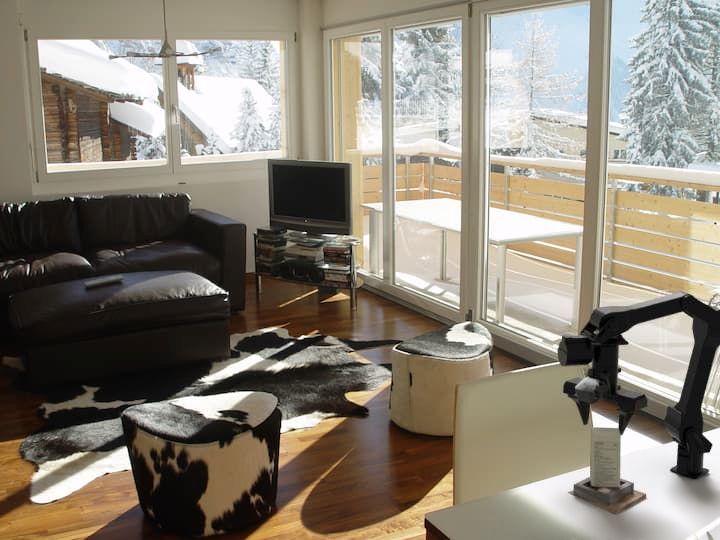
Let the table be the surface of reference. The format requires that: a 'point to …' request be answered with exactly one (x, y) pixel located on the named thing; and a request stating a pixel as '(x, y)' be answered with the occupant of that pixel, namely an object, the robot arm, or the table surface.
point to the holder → (608, 495)
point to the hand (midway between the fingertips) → (602, 429)
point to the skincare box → (605, 457)
